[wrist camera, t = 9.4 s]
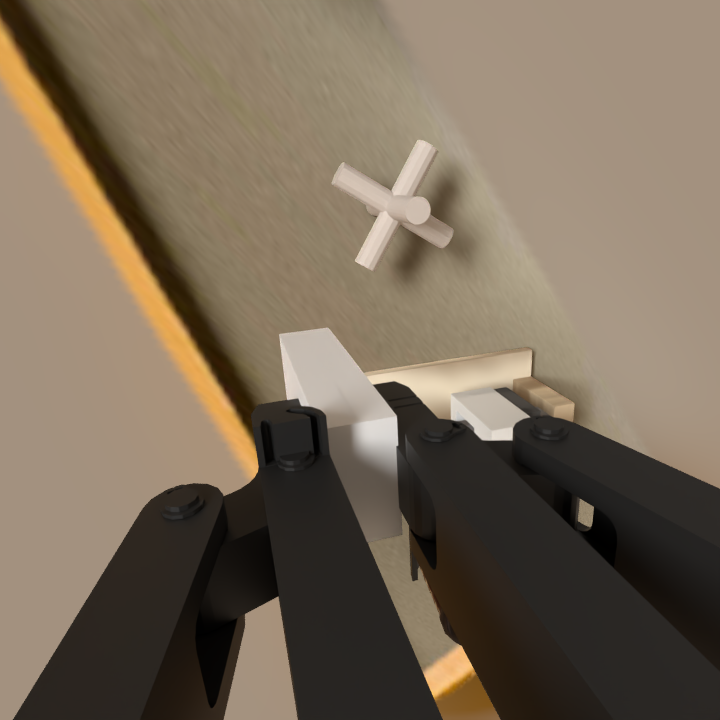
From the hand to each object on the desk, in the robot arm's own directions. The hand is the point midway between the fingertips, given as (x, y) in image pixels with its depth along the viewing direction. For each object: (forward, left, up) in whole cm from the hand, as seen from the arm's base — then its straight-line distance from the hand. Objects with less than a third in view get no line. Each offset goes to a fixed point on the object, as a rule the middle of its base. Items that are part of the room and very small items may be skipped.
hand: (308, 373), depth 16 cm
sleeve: (+17, +18, -26) cm, 36 cm away
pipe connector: (-3, +11, -30) cm, 32 cm away
